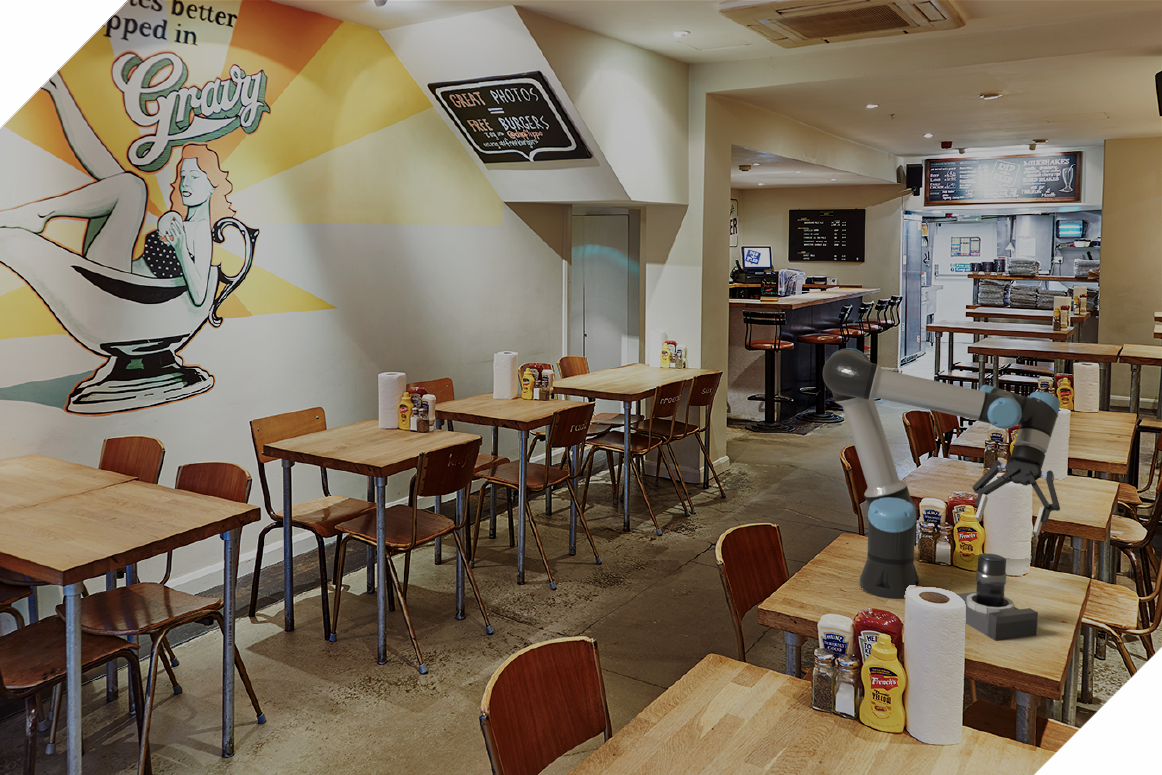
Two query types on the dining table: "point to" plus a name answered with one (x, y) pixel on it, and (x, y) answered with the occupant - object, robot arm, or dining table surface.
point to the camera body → (1000, 619)
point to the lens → (991, 580)
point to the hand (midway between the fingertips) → (1006, 526)
